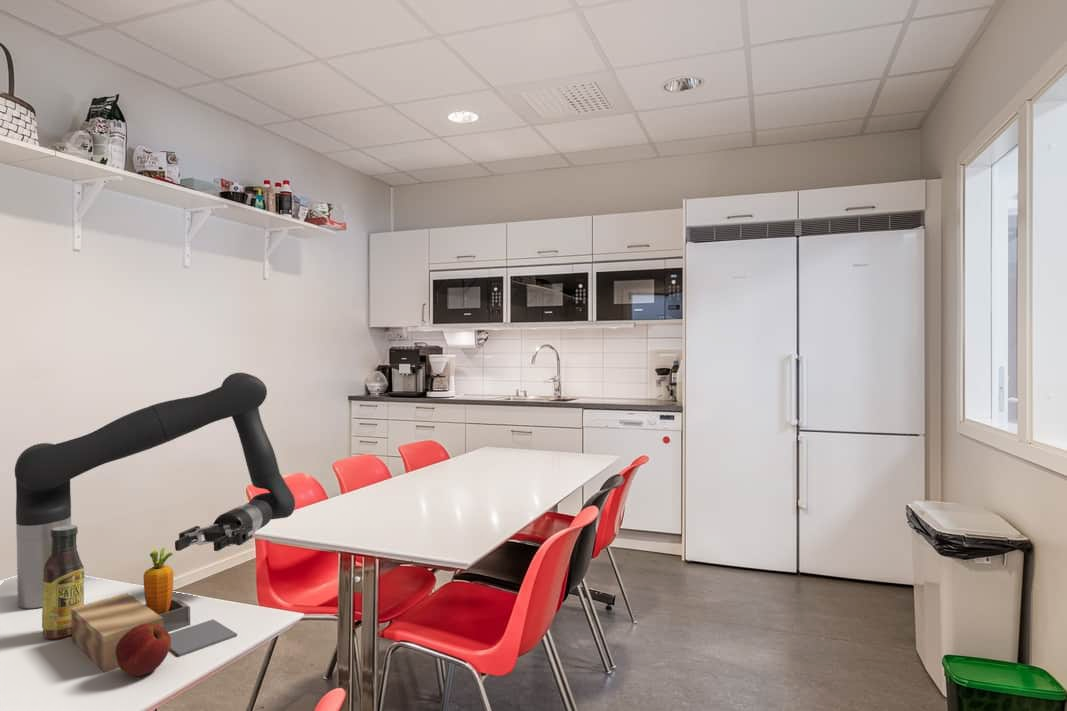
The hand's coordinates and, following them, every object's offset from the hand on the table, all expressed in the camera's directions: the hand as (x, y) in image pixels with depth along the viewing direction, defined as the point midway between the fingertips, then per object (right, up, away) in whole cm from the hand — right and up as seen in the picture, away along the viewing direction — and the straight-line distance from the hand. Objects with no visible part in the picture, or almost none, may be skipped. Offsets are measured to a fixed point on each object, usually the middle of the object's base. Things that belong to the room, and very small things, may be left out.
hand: (196, 546), depth 132 cm
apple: (+7, -12, -29) cm, 32 cm away
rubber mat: (+9, -12, -16) cm, 22 cm away
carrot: (-1, -12, -11) cm, 17 cm away
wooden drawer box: (-1, -12, -16) cm, 20 cm away
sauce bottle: (-18, -12, -14) cm, 25 cm away
